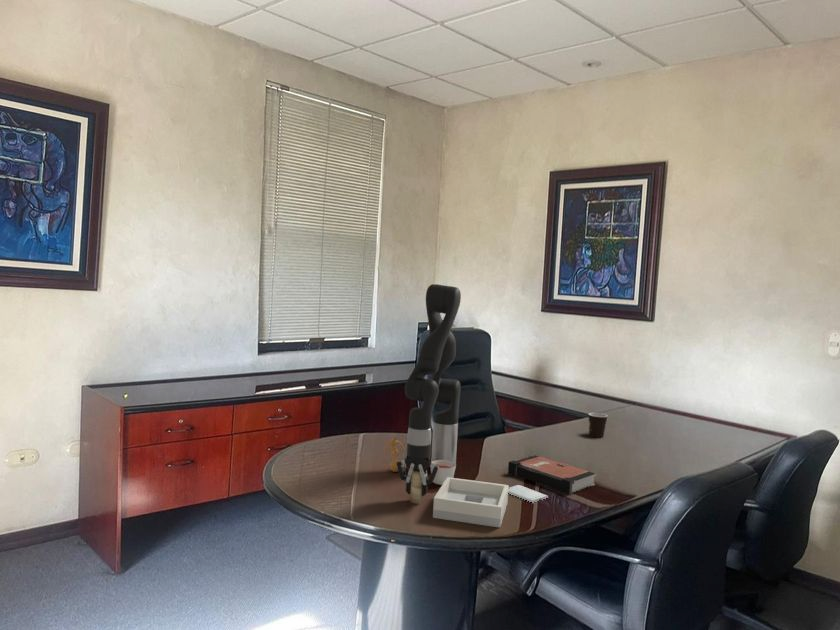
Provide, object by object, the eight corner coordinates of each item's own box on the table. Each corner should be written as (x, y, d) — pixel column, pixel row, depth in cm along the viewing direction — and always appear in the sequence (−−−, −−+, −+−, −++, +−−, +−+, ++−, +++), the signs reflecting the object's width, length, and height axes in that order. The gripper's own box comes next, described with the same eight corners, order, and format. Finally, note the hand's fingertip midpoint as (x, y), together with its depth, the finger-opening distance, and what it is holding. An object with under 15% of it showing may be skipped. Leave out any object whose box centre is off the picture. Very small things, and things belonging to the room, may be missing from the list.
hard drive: (503, 488, 211) (532, 500, 202) (519, 484, 216) (548, 494, 207) (503, 493, 211) (532, 505, 202) (518, 489, 217) (548, 499, 207)
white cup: (456, 479, 221) (457, 461, 221) (452, 487, 213) (453, 469, 212) (431, 476, 223) (432, 459, 223) (426, 484, 214) (427, 466, 214)
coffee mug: (602, 439, 287) (604, 418, 286) (584, 436, 291) (585, 414, 291) (610, 434, 296) (611, 413, 296) (592, 431, 301) (593, 410, 300)
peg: (411, 498, 201) (413, 467, 200) (423, 499, 200) (425, 469, 199) (408, 502, 197) (409, 471, 196) (420, 504, 196) (422, 473, 195)
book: (596, 485, 224) (597, 472, 223) (569, 496, 212) (570, 481, 211) (535, 466, 243) (536, 453, 242) (507, 475, 231) (508, 461, 230)
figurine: (386, 474, 223) (388, 441, 222) (380, 469, 228) (381, 437, 227) (407, 472, 227) (409, 439, 226) (400, 467, 232) (402, 435, 231)
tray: (446, 495, 205) (447, 477, 205) (507, 503, 201) (508, 485, 200) (432, 517, 186) (433, 497, 186) (500, 527, 181) (501, 507, 181)
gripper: (443, 440, 199) (440, 493, 200) (400, 435, 202) (398, 487, 204) (438, 447, 192) (435, 501, 193) (394, 441, 195) (391, 495, 196)
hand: (416, 494), depth 198 cm, fingers closed on peg, 4 cm apart
